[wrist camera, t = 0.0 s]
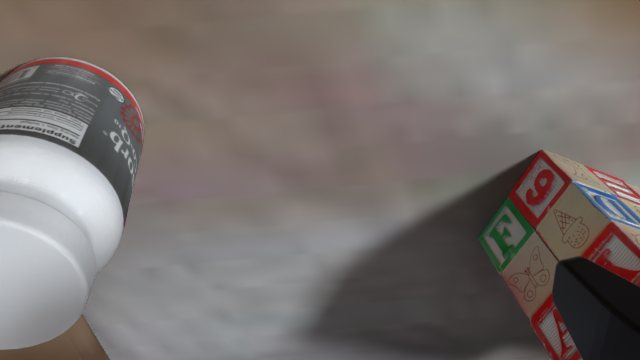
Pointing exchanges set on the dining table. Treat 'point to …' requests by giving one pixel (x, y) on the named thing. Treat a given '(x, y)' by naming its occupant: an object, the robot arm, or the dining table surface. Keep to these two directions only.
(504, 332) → the dining table surface
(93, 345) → the wooden board
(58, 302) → the pill bottle
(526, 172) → the stack of blocks
